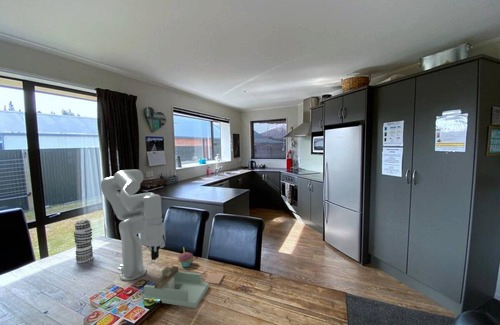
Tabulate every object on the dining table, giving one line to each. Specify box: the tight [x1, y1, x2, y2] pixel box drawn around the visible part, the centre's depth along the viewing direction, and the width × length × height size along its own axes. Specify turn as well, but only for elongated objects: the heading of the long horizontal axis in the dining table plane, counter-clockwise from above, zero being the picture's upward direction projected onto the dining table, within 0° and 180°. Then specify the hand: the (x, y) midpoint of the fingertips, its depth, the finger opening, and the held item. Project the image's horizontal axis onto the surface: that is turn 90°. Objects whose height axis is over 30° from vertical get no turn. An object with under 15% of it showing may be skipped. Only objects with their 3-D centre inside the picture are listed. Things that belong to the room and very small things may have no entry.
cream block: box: [163, 277, 175, 289], centre depth 99 cm, size 4×4×6 cm
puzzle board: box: [142, 269, 210, 309], centre depth 98 cm, size 26×14×7 cm, turn 78°
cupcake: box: [178, 246, 194, 268], centre depth 124 cm, size 9×8×12 cm
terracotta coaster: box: [203, 272, 225, 286], centre depth 109 cm, size 8×8×1 cm
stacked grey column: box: [73, 219, 94, 264], centre depth 132 cm, size 9×9×25 cm
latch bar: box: [153, 265, 179, 289], centre depth 99 cm, size 3×14×5 cm, turn 168°
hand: (155, 258), depth 100 cm, fingers closed
